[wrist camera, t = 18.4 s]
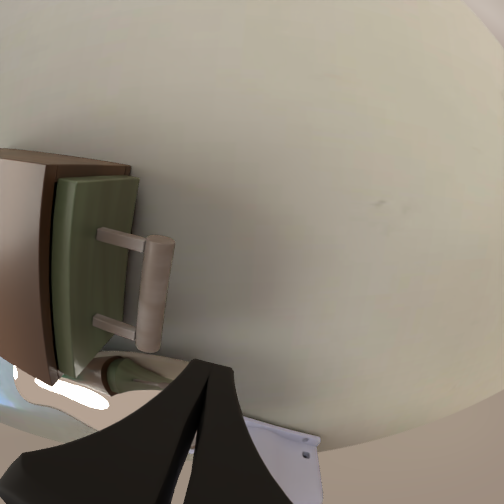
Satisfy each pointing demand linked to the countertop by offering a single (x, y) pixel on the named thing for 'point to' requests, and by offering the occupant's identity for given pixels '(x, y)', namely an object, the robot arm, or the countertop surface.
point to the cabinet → (32, 253)
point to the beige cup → (104, 387)
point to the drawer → (102, 270)
